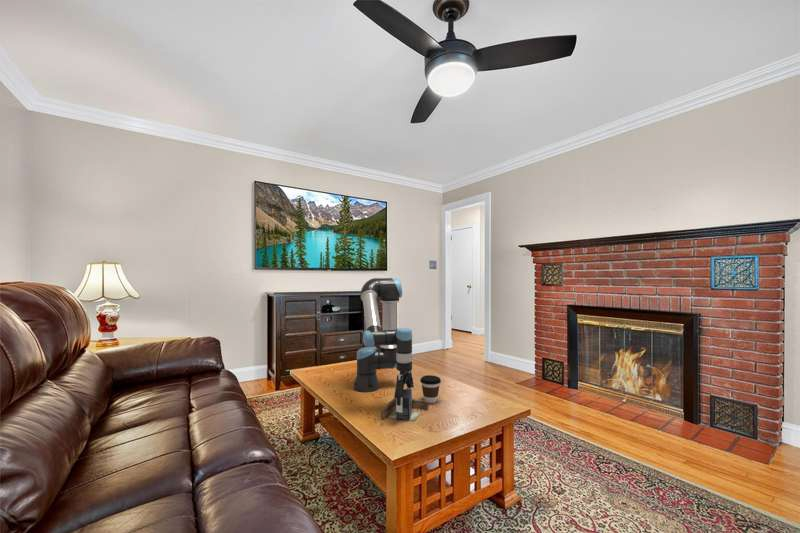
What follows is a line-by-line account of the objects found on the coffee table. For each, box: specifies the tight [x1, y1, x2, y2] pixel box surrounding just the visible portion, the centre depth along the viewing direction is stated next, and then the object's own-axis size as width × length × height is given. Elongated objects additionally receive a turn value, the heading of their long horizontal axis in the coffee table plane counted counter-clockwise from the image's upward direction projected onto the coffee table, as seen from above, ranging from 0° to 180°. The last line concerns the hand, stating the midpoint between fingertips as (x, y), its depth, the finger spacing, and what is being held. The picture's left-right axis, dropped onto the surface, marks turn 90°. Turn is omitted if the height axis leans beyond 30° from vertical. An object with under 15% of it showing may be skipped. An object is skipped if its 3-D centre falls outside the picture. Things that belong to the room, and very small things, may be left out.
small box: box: [396, 388, 413, 421], centre depth 156 cm, size 11×6×10 cm, turn 172°
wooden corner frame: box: [380, 397, 430, 422], centre depth 158 cm, size 18×18×4 cm
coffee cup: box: [420, 375, 442, 404], centre depth 174 cm, size 11×11×12 cm
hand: (404, 406), depth 156 cm, fingers open, 13 cm apart
